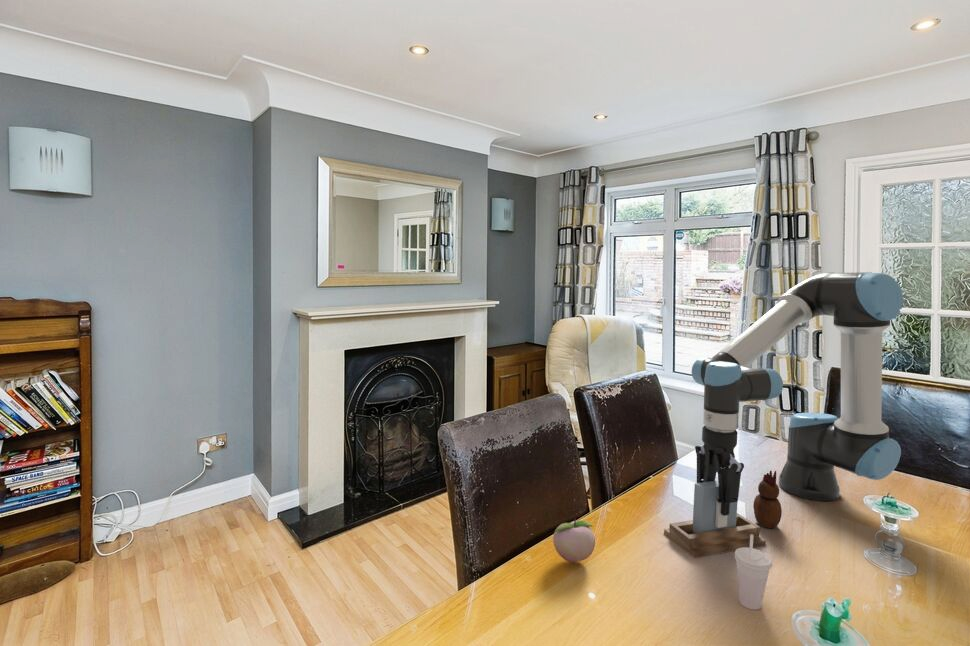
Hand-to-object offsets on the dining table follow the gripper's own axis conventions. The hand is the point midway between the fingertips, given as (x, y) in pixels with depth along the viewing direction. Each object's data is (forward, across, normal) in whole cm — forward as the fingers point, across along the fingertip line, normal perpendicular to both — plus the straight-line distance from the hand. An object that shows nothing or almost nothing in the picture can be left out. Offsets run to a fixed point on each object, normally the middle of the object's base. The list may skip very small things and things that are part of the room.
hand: (714, 521), depth 117 cm
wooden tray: (+4, 0, 0) cm, 4 cm away
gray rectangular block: (+2, 0, 0) cm, 2 cm away
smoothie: (+4, +21, -10) cm, 24 cm away
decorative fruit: (+4, 0, -37) cm, 37 cm away
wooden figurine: (+4, -2, +18) cm, 19 cm away
